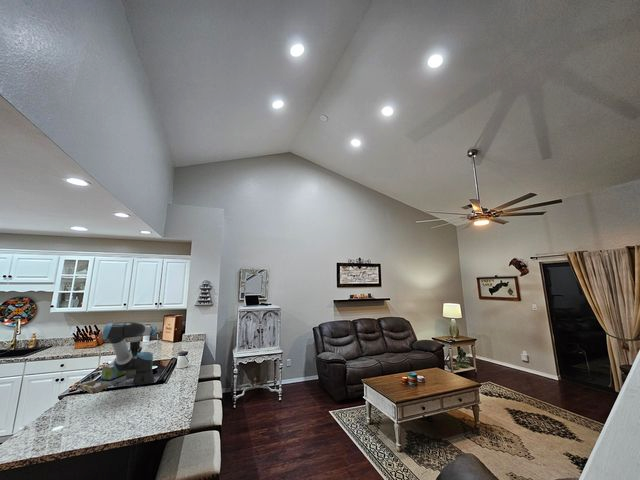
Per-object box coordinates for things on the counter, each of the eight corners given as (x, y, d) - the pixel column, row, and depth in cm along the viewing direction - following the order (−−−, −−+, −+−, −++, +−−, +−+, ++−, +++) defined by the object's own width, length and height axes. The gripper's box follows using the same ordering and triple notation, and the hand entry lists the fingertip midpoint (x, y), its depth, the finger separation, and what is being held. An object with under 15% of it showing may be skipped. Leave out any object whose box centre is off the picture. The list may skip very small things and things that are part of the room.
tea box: (110, 386, 224) (111, 367, 225) (100, 385, 226) (101, 366, 227) (126, 379, 238) (127, 361, 240) (116, 378, 240) (118, 360, 242)
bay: (108, 388, 219) (108, 383, 219) (93, 393, 210) (93, 388, 210) (94, 385, 226) (94, 380, 226) (79, 390, 217) (80, 384, 217)
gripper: (139, 338, 258) (138, 365, 255) (125, 342, 246) (123, 369, 243) (144, 339, 255) (143, 366, 252) (130, 343, 243) (128, 371, 240)
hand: (133, 368), depth 248 cm, fingers closed
